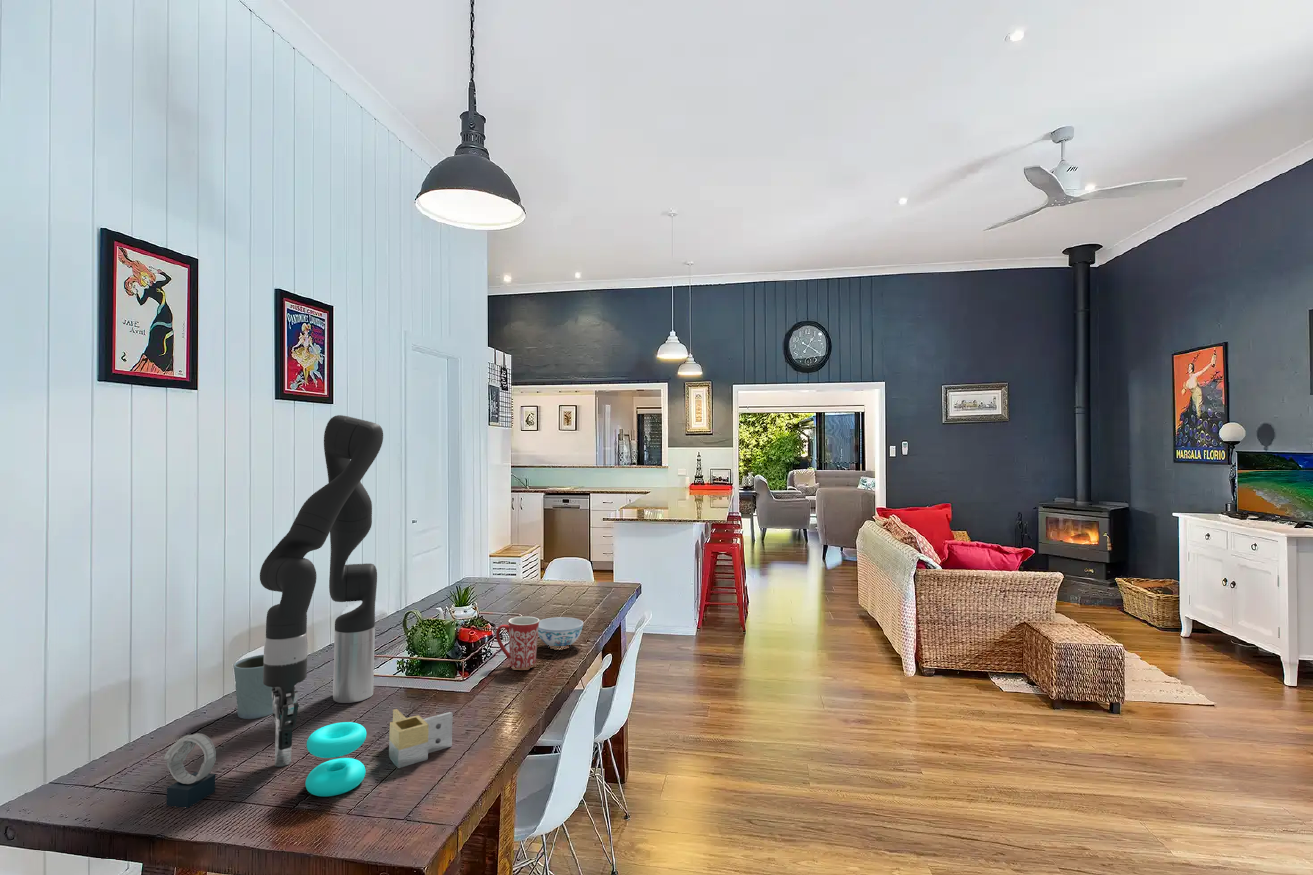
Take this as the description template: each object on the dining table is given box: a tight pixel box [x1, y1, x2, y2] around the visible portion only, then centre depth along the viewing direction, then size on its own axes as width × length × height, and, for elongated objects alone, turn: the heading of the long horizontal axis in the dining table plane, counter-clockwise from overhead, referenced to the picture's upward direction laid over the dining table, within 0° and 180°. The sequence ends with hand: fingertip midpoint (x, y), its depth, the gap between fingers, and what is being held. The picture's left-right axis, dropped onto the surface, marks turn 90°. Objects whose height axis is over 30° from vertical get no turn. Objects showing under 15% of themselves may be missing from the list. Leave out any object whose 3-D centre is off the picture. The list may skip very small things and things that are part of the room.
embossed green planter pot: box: [233, 654, 273, 720], centre depth 149 cm, size 10×10×12 cm
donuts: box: [304, 721, 368, 797], centre depth 117 cm, size 10×10×10 cm
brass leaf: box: [388, 708, 429, 750], centre depth 130 cm, size 12×6×7 cm, turn 40°
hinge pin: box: [274, 706, 292, 768], centre depth 124 cm, size 3×3×12 cm
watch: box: [164, 732, 217, 809], centre depth 112 cm, size 6×8×11 cm
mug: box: [495, 616, 541, 668], centre depth 183 cm, size 13×9×14 cm
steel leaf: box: [388, 711, 453, 769], centre depth 129 cm, size 6×12×7 cm, turn 130°
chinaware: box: [538, 616, 584, 647], centre depth 201 cm, size 15×15×8 cm
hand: (283, 744), depth 124 cm, fingers closed on hinge pin, 2 cm apart
